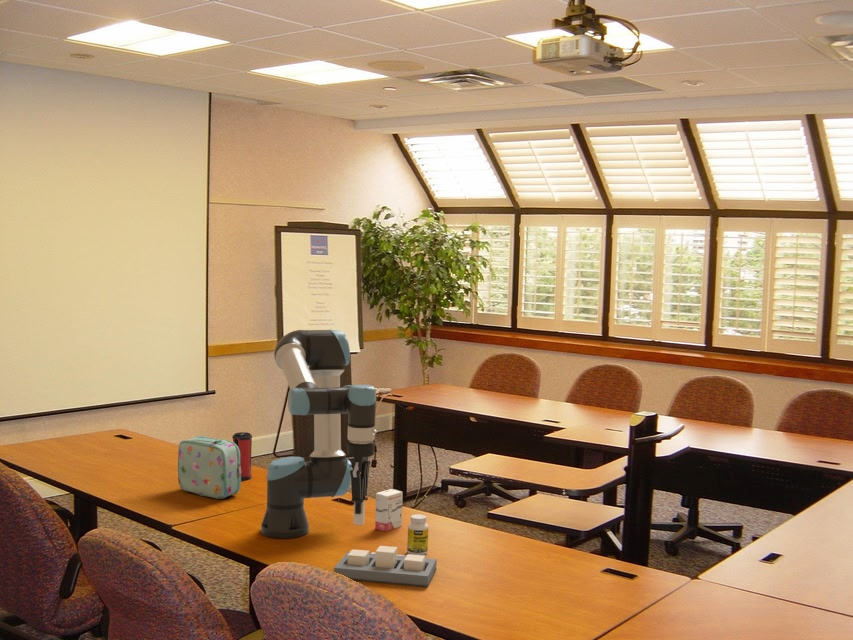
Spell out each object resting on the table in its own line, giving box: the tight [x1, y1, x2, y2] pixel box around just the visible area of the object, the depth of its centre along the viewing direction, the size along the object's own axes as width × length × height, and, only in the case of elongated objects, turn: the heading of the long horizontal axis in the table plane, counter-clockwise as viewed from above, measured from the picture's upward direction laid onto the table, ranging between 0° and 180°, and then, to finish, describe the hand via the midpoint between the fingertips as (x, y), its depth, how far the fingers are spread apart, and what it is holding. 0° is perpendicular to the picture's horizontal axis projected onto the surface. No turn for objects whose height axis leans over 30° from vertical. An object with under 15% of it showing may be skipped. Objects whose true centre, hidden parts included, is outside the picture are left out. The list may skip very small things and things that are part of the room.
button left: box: [347, 548, 370, 566], centre depth 239 cm, size 5×5×4 cm
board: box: [333, 550, 437, 588], centre depth 238 cm, size 26×14×3 cm, turn 80°
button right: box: [404, 553, 426, 571], centre depth 236 cm, size 5×5×4 cm
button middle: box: [375, 545, 398, 568], centre depth 238 cm, size 5×5×4 cm
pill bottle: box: [406, 514, 429, 556], centre depth 256 cm, size 6×6×11 cm
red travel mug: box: [231, 431, 253, 481], centre depth 340 cm, size 8×8×18 cm
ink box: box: [374, 488, 404, 532], centre depth 281 cm, size 9×5×12 cm, turn 142°
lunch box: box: [177, 435, 242, 500], centre depth 316 cm, size 27×10×21 cm, turn 58°
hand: (358, 523), depth 239 cm, fingers closed
